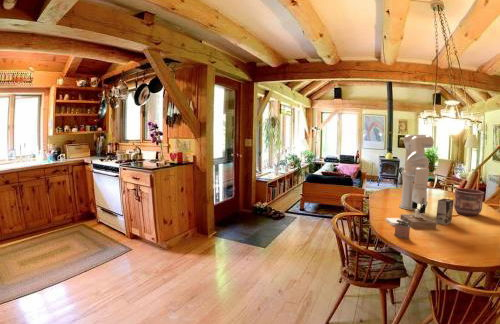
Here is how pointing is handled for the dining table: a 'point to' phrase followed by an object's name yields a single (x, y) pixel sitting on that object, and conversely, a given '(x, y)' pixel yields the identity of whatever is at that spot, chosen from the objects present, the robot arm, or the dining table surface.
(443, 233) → the dining table surface
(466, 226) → the dining table surface
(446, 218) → the coffee box
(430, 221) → the plate
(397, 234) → the lighter
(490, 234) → the dining table surface
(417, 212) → the peg
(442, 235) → the dining table surface
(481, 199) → the pottery
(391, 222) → the white square base plate
